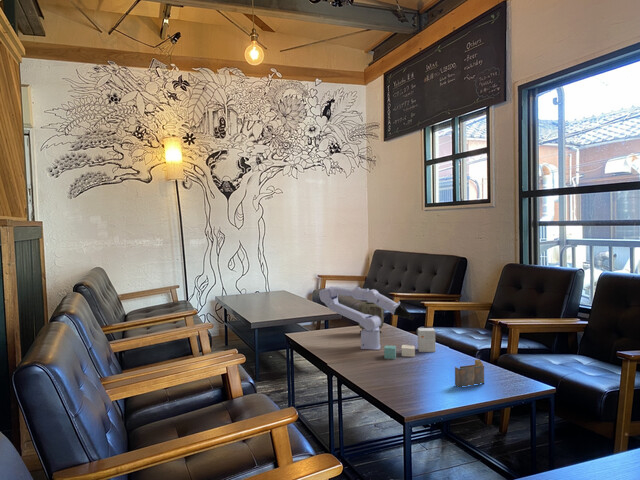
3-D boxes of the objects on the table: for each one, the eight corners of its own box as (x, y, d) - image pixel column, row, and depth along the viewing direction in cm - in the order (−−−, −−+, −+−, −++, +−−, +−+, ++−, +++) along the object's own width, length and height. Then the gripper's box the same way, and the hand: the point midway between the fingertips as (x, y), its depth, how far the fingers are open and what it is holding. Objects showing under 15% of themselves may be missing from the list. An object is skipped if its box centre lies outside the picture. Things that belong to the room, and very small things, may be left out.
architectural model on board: (479, 382, 179) (479, 358, 178) (484, 385, 176) (484, 360, 175) (454, 386, 175) (454, 361, 175) (459, 389, 172) (458, 363, 172)
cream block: (401, 356, 215) (401, 348, 215) (402, 352, 221) (402, 344, 221) (414, 357, 214) (414, 348, 213) (414, 353, 219) (414, 345, 219)
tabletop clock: (383, 332, 261) (382, 289, 260) (384, 336, 252) (383, 292, 251) (358, 332, 262) (357, 289, 261) (357, 336, 253) (357, 291, 252)
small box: (433, 349, 226) (433, 328, 226) (435, 352, 221) (435, 330, 220) (417, 348, 227) (417, 327, 227) (418, 351, 221) (418, 330, 221)
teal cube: (384, 358, 211) (384, 348, 211) (385, 355, 216) (385, 345, 216) (395, 359, 210) (395, 348, 210) (395, 356, 215) (395, 345, 215)
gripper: (387, 295, 219) (412, 308, 213) (394, 299, 232) (418, 312, 226) (380, 308, 218) (405, 322, 212) (388, 311, 231) (411, 324, 225)
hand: (411, 317), depth 219 cm, fingers open, 7 cm apart
